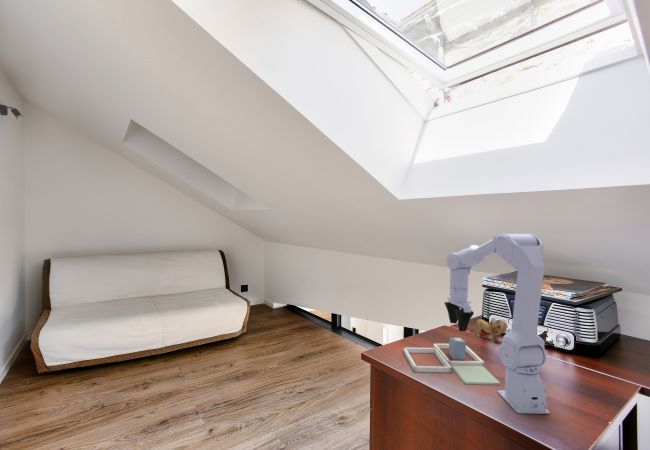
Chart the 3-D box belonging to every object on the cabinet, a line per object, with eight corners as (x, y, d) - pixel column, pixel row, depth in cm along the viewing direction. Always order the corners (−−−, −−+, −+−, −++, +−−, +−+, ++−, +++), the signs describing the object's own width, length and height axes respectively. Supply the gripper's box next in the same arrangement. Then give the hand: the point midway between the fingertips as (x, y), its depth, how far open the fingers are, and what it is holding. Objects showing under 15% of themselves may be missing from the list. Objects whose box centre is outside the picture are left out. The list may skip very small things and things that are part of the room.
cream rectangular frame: (484, 367, 102) (484, 362, 102) (448, 366, 102) (448, 361, 102) (464, 348, 116) (464, 344, 116) (433, 347, 116) (433, 343, 116)
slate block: (465, 359, 107) (465, 341, 107) (453, 359, 107) (454, 341, 107) (460, 354, 111) (460, 337, 111) (449, 354, 111) (449, 337, 111)
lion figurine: (509, 343, 121) (510, 320, 121) (502, 346, 118) (503, 322, 118) (473, 331, 134) (474, 310, 133) (466, 333, 131) (466, 312, 130)
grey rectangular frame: (451, 372, 98) (452, 367, 98) (414, 372, 98) (414, 367, 98) (435, 352, 112) (435, 348, 112) (403, 351, 113) (403, 347, 112)
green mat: (500, 384, 91) (500, 382, 91) (465, 384, 91) (465, 382, 91) (483, 368, 101) (483, 366, 101) (451, 367, 101) (451, 365, 101)
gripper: (480, 293, 101) (479, 334, 102) (461, 283, 116) (460, 320, 116) (458, 292, 101) (457, 334, 102) (442, 283, 116) (441, 319, 116)
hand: (457, 326), depth 109 cm, fingers open, 7 cm apart
